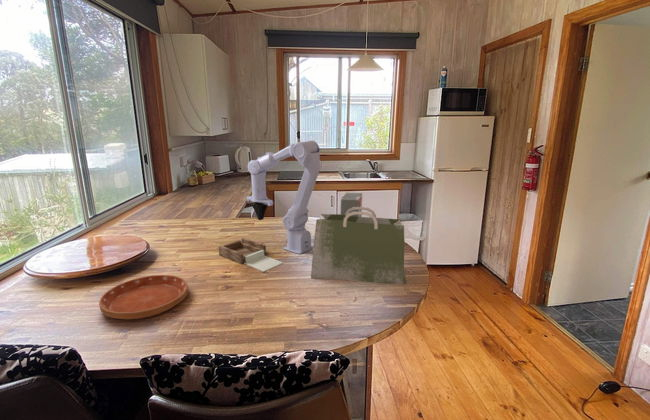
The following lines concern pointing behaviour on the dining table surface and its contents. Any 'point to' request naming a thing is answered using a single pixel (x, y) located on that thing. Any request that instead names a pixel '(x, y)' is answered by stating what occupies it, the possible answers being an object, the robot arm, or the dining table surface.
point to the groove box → (240, 250)
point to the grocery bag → (359, 248)
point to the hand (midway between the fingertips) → (260, 219)
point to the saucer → (143, 297)
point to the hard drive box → (351, 203)
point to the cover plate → (261, 261)
